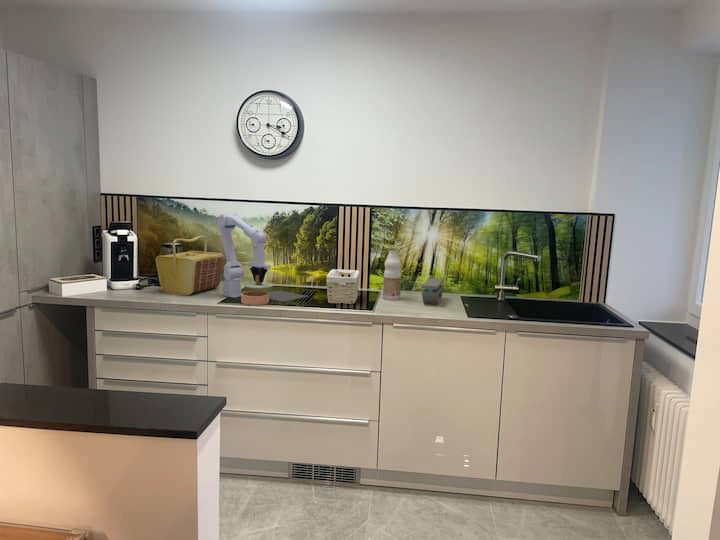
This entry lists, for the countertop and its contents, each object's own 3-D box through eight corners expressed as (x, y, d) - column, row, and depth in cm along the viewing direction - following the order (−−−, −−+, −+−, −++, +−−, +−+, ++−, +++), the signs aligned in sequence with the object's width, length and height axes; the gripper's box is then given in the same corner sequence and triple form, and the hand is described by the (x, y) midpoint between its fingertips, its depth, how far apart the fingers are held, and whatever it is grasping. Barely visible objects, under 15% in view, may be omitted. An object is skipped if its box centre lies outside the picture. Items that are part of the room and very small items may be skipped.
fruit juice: (383, 300, 311) (385, 248, 307) (382, 296, 320) (384, 246, 316) (400, 300, 311) (403, 249, 307) (399, 297, 321) (401, 247, 316)
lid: (237, 285, 295) (237, 274, 294) (258, 282, 307) (258, 271, 306) (258, 289, 287) (258, 278, 286) (279, 285, 299) (279, 274, 298)
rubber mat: (252, 296, 310) (252, 295, 310) (278, 291, 326) (278, 290, 326) (283, 302, 297) (283, 301, 297) (308, 297, 313) (308, 295, 313)
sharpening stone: (436, 307, 298) (437, 286, 296) (421, 305, 300) (422, 285, 298) (442, 298, 321) (443, 279, 320) (428, 297, 324) (429, 277, 322)
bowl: (235, 302, 294) (235, 293, 294) (255, 298, 306) (255, 290, 305) (255, 306, 286) (255, 297, 286) (274, 302, 298) (274, 293, 297)
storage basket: (355, 305, 297) (356, 276, 295) (324, 303, 298) (325, 275, 296) (359, 296, 321) (360, 269, 319) (330, 294, 322) (331, 268, 320)
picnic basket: (194, 297, 304) (193, 240, 300) (154, 292, 313) (153, 237, 309) (225, 288, 331) (225, 236, 327) (188, 284, 340) (187, 233, 336)
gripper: (243, 254, 296) (243, 281, 298) (263, 257, 287) (263, 284, 289) (253, 253, 301) (253, 279, 303) (273, 256, 293) (273, 282, 295)
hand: (258, 281), depth 297 cm, fingers closed on lid, 3 cm apart
